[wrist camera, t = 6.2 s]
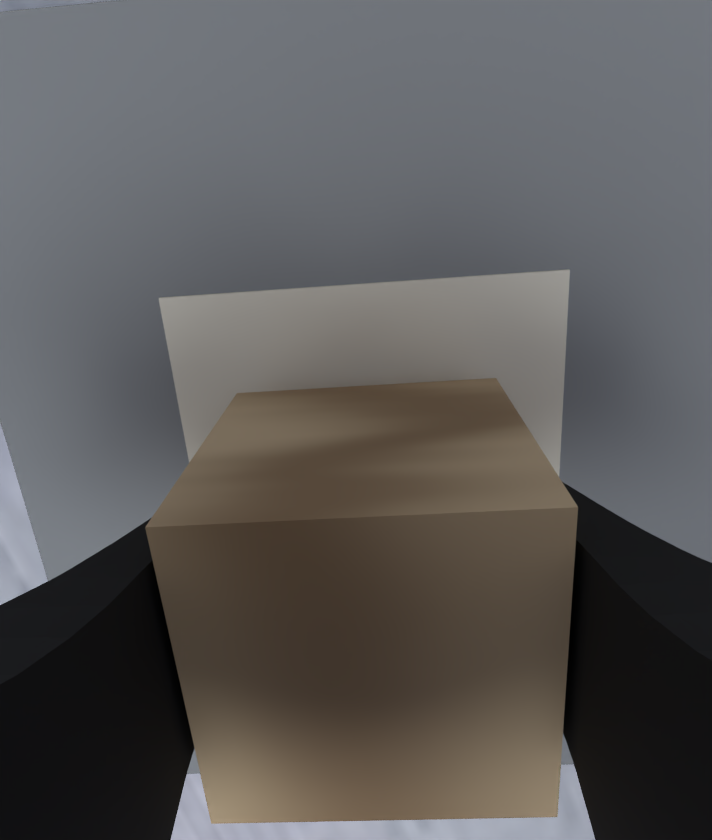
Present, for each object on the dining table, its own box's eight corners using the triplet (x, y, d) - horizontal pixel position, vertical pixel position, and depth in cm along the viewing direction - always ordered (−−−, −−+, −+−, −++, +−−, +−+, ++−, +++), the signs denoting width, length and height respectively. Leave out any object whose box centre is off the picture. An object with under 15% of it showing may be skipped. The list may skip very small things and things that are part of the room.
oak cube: (495, 377, 11) (578, 506, 7) (493, 595, 13) (557, 817, 9) (236, 393, 12) (144, 527, 7) (268, 604, 14) (211, 823, 9)
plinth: (749, -19, 12) (845, -72, 10) (655, 688, 18) (698, 764, 16) (-29, 53, 13) (-124, 21, 10) (139, 704, 19) (105, 779, 17)
